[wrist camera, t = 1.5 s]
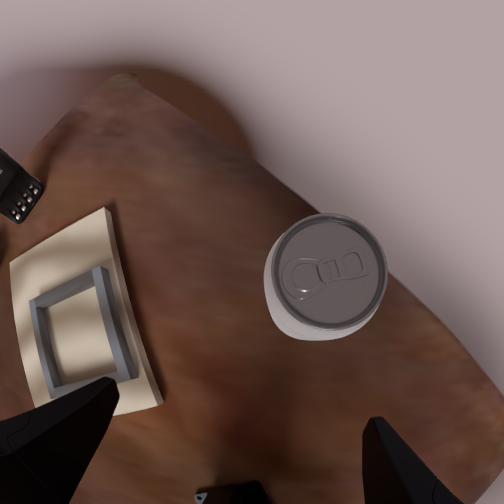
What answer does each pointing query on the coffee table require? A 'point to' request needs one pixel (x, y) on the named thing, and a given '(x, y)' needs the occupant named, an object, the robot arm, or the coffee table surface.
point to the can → (324, 277)
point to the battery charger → (17, 188)
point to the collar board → (79, 317)
